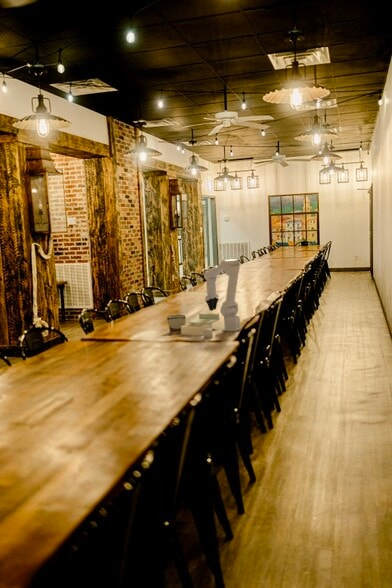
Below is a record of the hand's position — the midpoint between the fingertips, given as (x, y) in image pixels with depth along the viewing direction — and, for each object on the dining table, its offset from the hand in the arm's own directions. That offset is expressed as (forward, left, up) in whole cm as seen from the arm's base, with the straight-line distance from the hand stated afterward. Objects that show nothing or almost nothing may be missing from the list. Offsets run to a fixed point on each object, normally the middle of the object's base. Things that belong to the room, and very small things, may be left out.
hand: (212, 309), depth 358 cm
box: (0, +22, -10) cm, 24 cm away
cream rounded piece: (-14, +33, -10) cm, 37 cm away
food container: (+15, +20, -11) cm, 27 cm away
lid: (0, +12, -5) cm, 13 cm away
